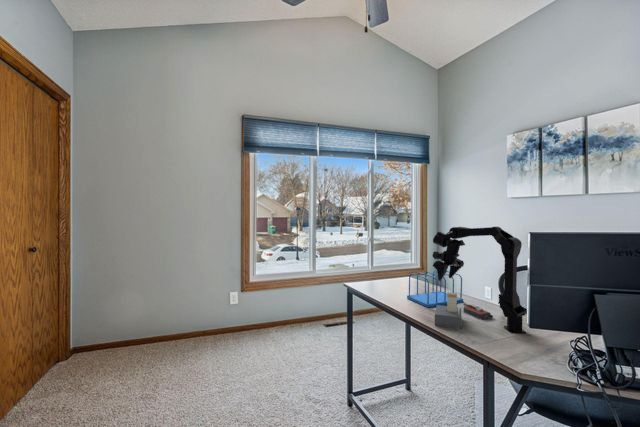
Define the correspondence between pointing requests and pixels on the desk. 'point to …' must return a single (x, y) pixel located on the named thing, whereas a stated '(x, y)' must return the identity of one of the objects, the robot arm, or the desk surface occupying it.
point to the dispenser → (447, 317)
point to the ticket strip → (451, 302)
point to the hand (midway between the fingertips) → (444, 279)
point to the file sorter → (432, 293)
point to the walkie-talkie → (476, 312)
